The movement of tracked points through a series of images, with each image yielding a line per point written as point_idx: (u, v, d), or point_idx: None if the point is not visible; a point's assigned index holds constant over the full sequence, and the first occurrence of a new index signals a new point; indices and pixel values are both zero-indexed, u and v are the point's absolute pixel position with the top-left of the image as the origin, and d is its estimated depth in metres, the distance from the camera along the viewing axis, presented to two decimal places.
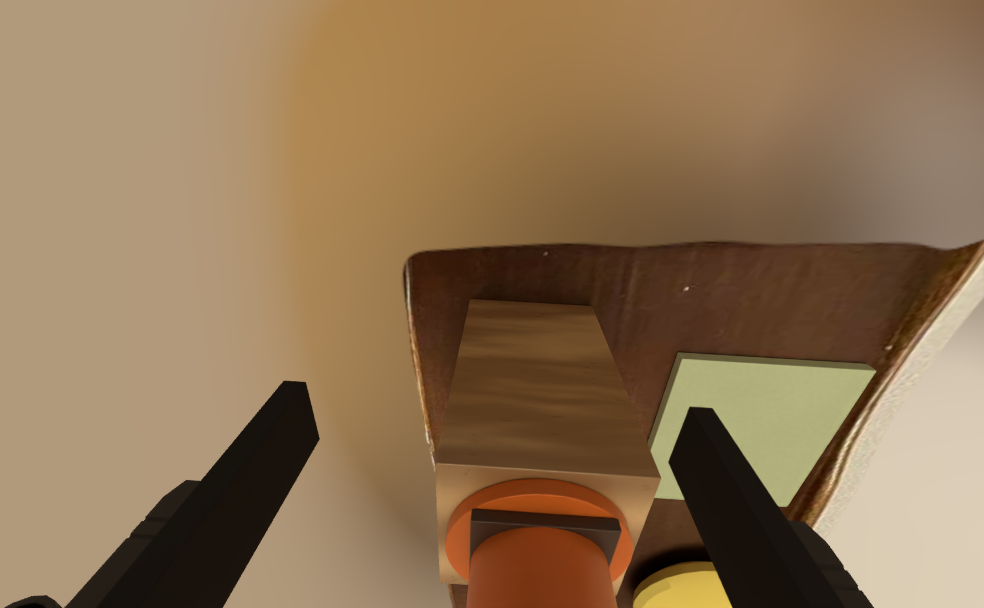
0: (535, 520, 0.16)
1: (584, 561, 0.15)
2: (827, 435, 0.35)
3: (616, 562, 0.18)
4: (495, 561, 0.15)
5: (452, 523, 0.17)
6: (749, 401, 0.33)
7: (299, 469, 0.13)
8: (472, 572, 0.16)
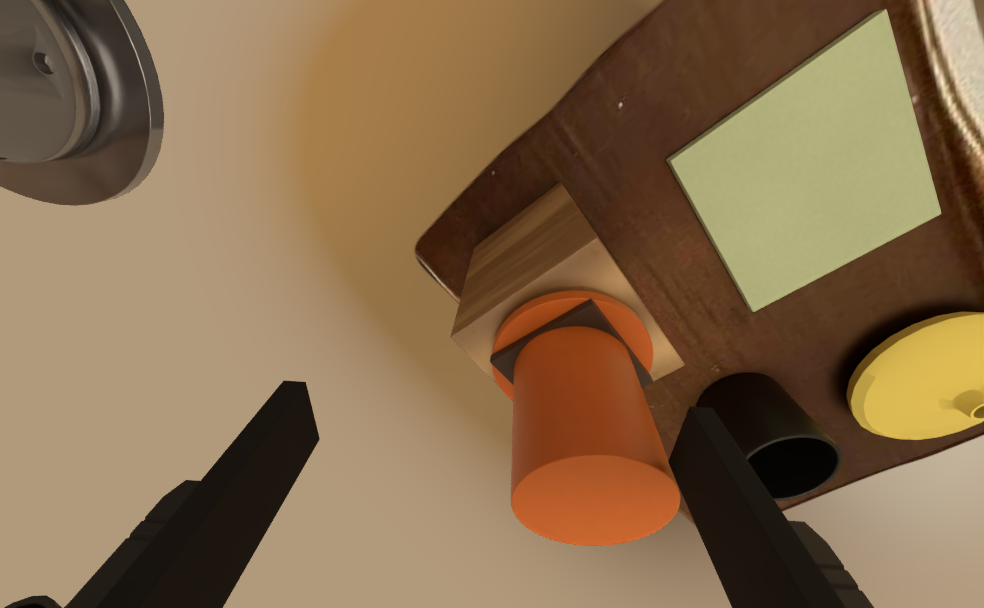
0: (531, 336, 0.20)
1: (570, 339, 0.18)
2: (904, 110, 0.29)
3: (635, 336, 0.20)
4: (515, 376, 0.20)
5: None
6: (775, 145, 0.30)
7: (299, 469, 0.13)
8: None
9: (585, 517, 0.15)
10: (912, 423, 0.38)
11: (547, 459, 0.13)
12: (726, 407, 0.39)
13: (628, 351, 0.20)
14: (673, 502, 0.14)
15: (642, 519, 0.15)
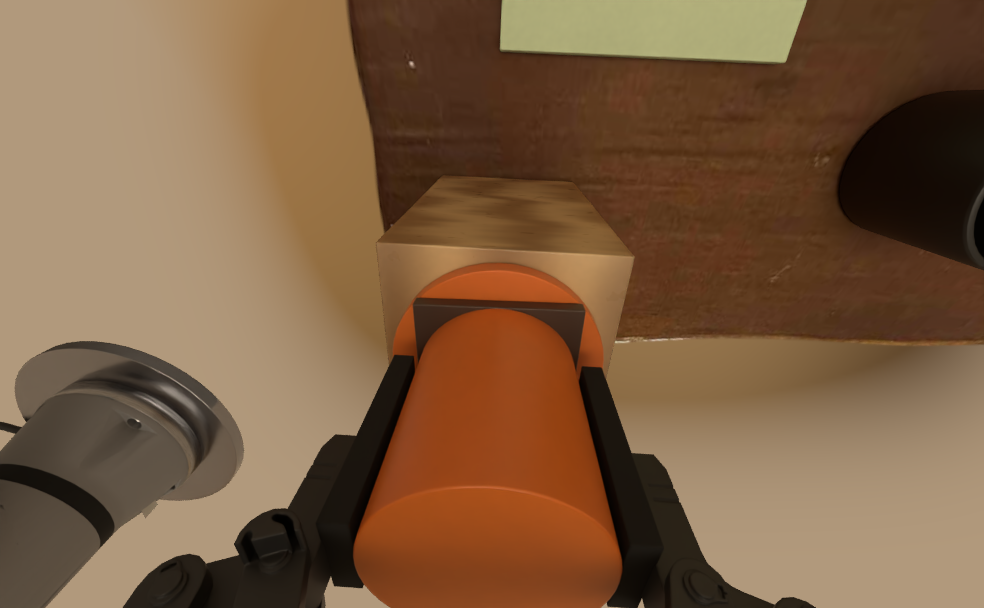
0: None
1: (421, 358, 0.14)
2: None
3: (504, 286, 0.14)
4: None
5: None
6: None
7: None
8: None
9: (507, 590, 0.09)
10: None
11: (356, 557, 0.09)
12: (879, 192, 0.24)
13: (508, 309, 0.14)
14: (551, 508, 0.08)
15: (567, 551, 0.08)
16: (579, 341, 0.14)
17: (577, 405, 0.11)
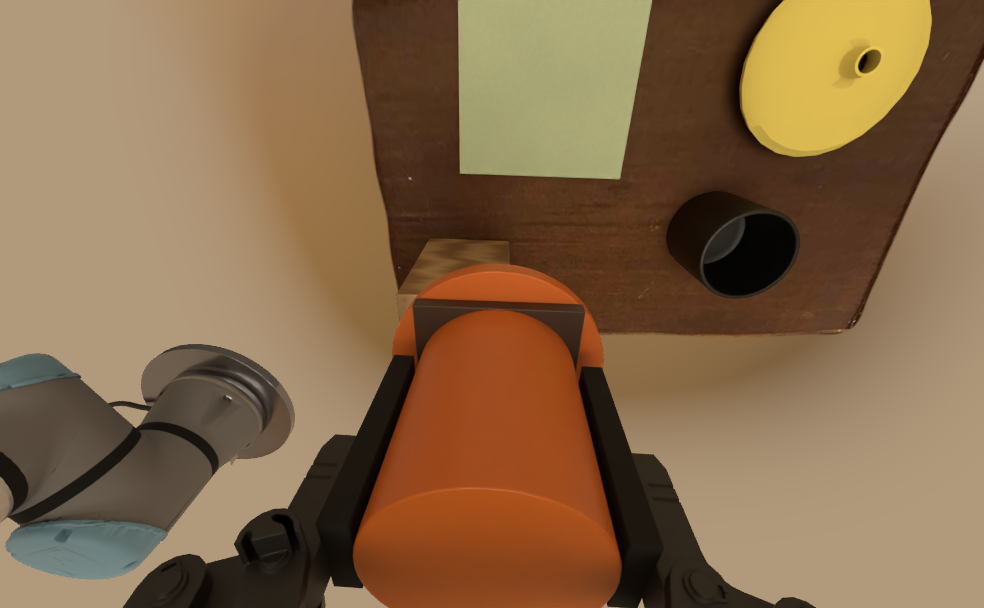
0: None
1: (421, 359, 0.14)
2: (538, 3, 0.35)
3: (504, 287, 0.14)
4: None
5: None
6: (498, 104, 0.39)
7: None
8: None
9: (507, 591, 0.09)
10: (847, 116, 0.35)
11: (356, 558, 0.09)
12: (678, 249, 0.43)
13: (508, 310, 0.14)
14: (550, 510, 0.08)
15: (567, 553, 0.08)
16: (579, 342, 0.14)
17: (577, 406, 0.11)
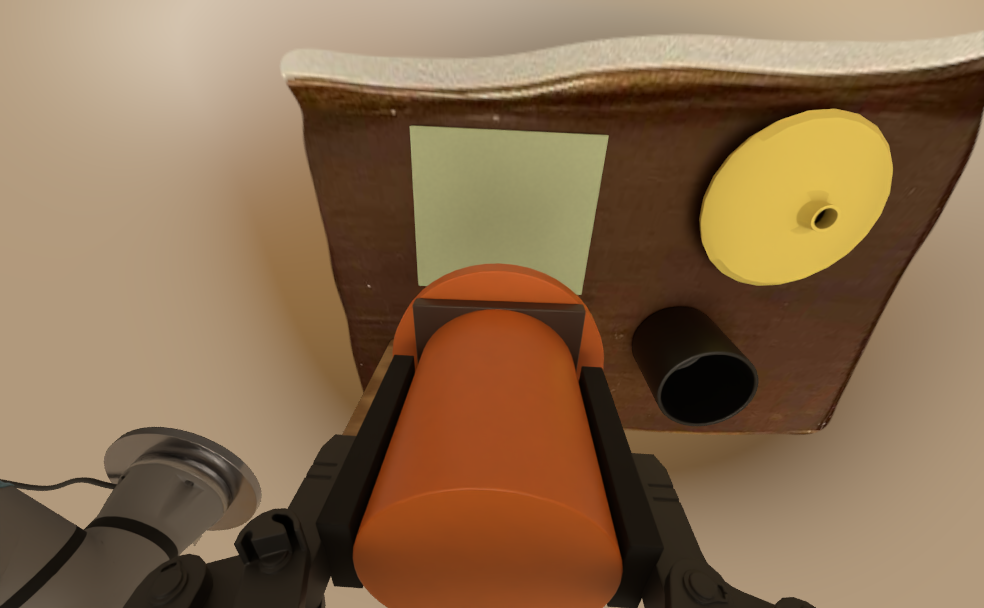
0: None
1: (421, 359, 0.14)
2: (492, 136, 0.34)
3: (504, 287, 0.14)
4: None
5: None
6: (454, 225, 0.38)
7: None
8: None
9: (507, 592, 0.09)
10: (808, 256, 0.34)
11: (355, 558, 0.09)
12: (640, 365, 0.42)
13: (508, 309, 0.14)
14: (551, 510, 0.08)
15: (567, 553, 0.08)
16: (579, 342, 0.14)
17: (577, 406, 0.11)
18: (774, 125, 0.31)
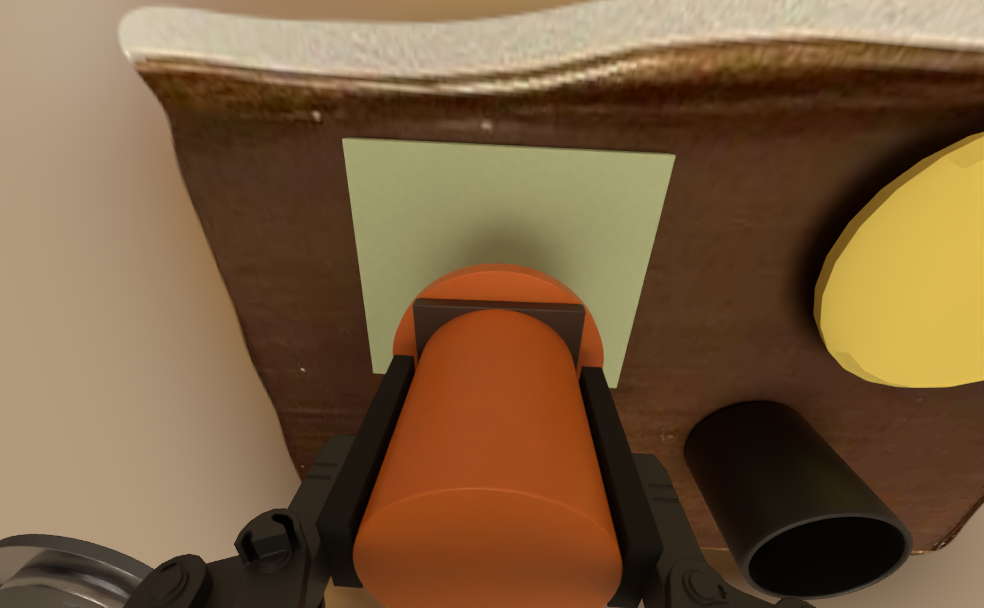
0: None
1: (421, 359, 0.14)
2: (480, 156, 0.20)
3: (505, 287, 0.14)
4: None
5: None
6: None
7: None
8: None
9: (507, 591, 0.09)
10: None
11: (355, 559, 0.09)
12: (702, 489, 0.28)
13: (508, 309, 0.14)
14: (551, 510, 0.08)
15: (568, 553, 0.08)
16: (579, 342, 0.14)
17: (577, 406, 0.11)
18: (983, 140, 0.17)
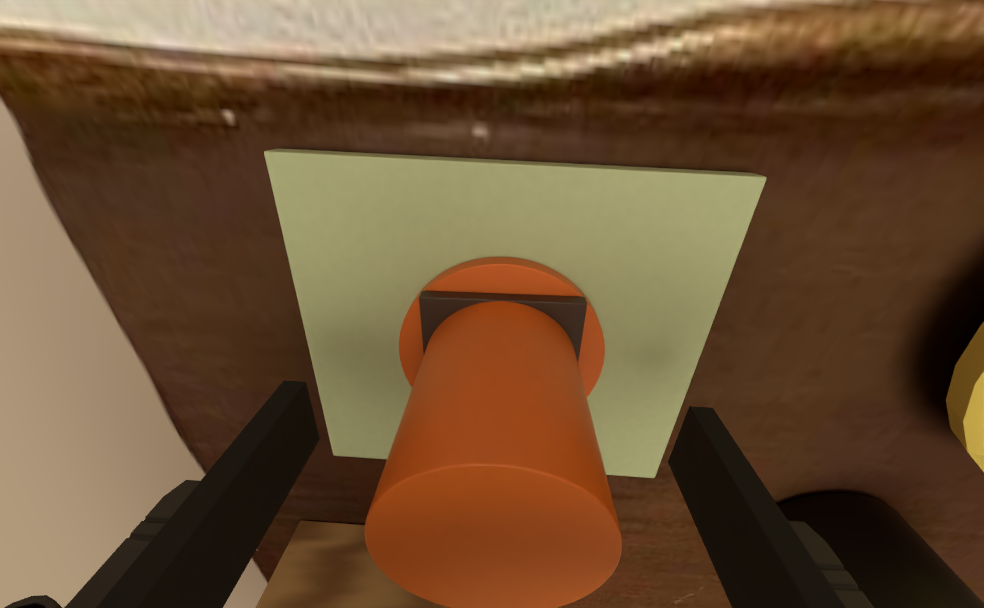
0: None
1: (427, 349, 0.14)
2: (471, 177, 0.14)
3: (508, 279, 0.15)
4: None
5: None
6: (395, 359, 0.18)
7: (299, 469, 0.13)
8: None
9: (512, 567, 0.10)
10: None
11: (367, 535, 0.10)
12: None
13: (512, 301, 0.14)
14: (554, 485, 0.08)
15: (570, 529, 0.09)
16: (581, 333, 0.15)
17: (579, 393, 0.12)
18: None
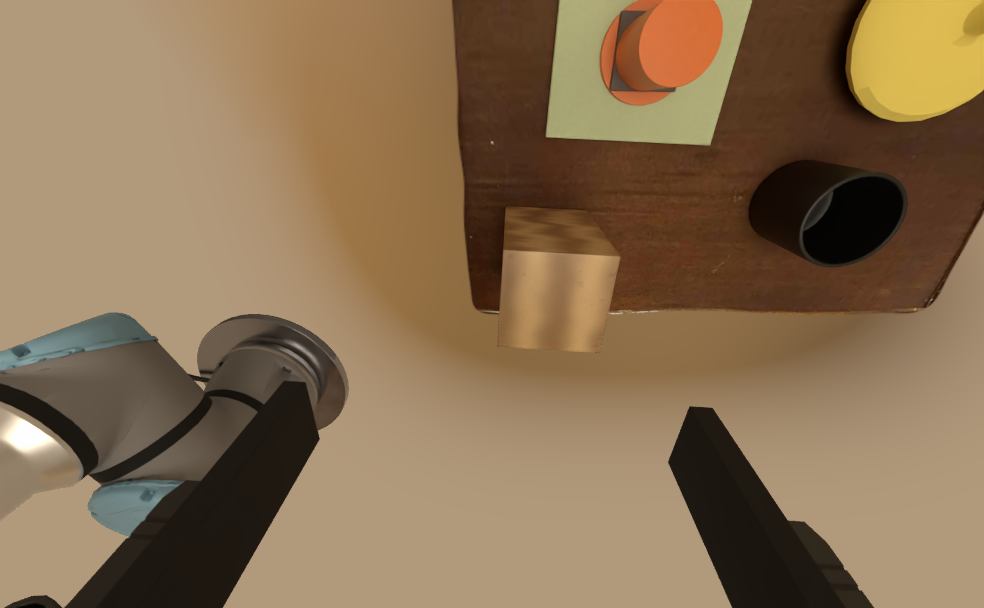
0: (614, 57, 0.37)
1: (626, 31, 0.35)
2: None
3: (658, 4, 0.35)
4: (623, 76, 0.36)
5: (621, 101, 0.39)
6: (593, 63, 0.38)
7: (299, 469, 0.13)
8: (636, 88, 0.37)
9: (685, 51, 0.30)
10: (962, 77, 0.34)
11: (639, 40, 0.30)
12: (766, 219, 0.42)
13: None
14: None
15: (707, 23, 0.29)
16: None
17: None
18: None
